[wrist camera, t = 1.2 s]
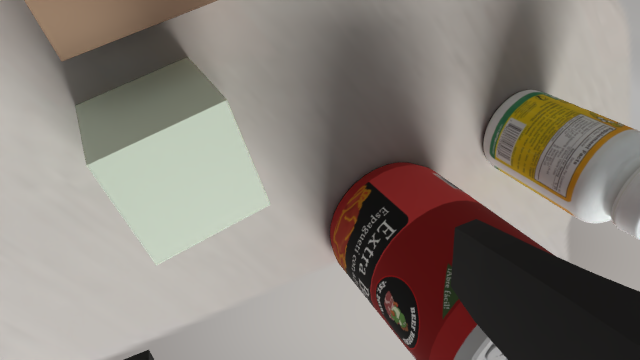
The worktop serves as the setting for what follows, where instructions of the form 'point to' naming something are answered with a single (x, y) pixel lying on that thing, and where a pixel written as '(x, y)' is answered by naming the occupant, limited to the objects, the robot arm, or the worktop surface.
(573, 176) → the supplement bottle
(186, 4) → the walnut block
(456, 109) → the worktop surface
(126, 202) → the sage block
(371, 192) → the canned food
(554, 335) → the robot arm
